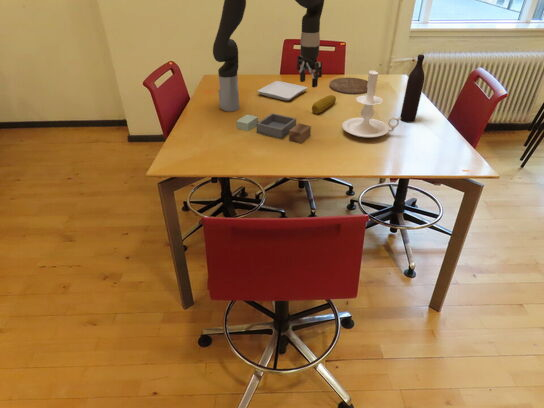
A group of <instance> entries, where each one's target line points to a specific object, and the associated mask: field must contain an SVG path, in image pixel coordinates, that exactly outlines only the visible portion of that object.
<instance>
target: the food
mask: <svg viewBox="0 0 544 408" xmlns="http://www.w3.org/2000/svg"><path fill="white" fill-rule="evenodd" d="M336 101H337V97H336V96H335V95H333V94H330V95H326V96H325V97H323V98H320V99H318V100H317V101H315V102H314V103H313V104H312V106H311V110H312V113H314V114H315V115H318V114H321V113H323V112H324V111H326V110H327V109H328V108H330V107H331V106H332V105H334V104H335V102H336Z"/></svg>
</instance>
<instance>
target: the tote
mask: <svg viewBox="0 0 544 408" xmlns="http://www.w3.org/2000/svg"><path fill="white" fill-rule="evenodd" d="M296 125H297V118H296V117H292V116H286V115H283V114H282V115H281V114H279V113H274V112H272V113H270V114H269V115H267V116H266V117H264V118H262V119H261V120H260V121H258V123H257V124H256V126H255V127H256V134H260V135H263V136H267V137H271V138H275V139H278V140H282V139H284V138H285V137H287V135H288V136H289V130H290V129H292V128H293V127H294V126H296Z"/></svg>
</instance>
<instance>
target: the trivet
mask: <svg viewBox="0 0 544 408" xmlns="http://www.w3.org/2000/svg"><path fill="white" fill-rule="evenodd" d="M367 84H368V79H363V78H357V77H339V78H335V79H332V80H330V81H329V89H331V91H334V92H336V93H339V94H343V95H344V94H345V95H363V94H364V95H365V94H367V90H368V88H367Z"/></svg>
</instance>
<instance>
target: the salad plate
mask: <svg viewBox="0 0 544 408" xmlns="http://www.w3.org/2000/svg"><path fill="white" fill-rule="evenodd" d="M307 89H308V87H307V86H303V85H299V84H295V83H290V82H285V81H281V80H280V81H279V80H275V81H273V82H271V83H269V84H268V85H266V86H263V87H262V88H261V87H260V88H259V89H258V90H257V91H256V92H257V93H258V94H260V95H262V96H266V97H268V98H273V99H277V100H281V101H290V100H292V99H294V98H295V97H297V96H298V95H300V94H301V93H303V92H305V91H306V90H307Z"/></svg>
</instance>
